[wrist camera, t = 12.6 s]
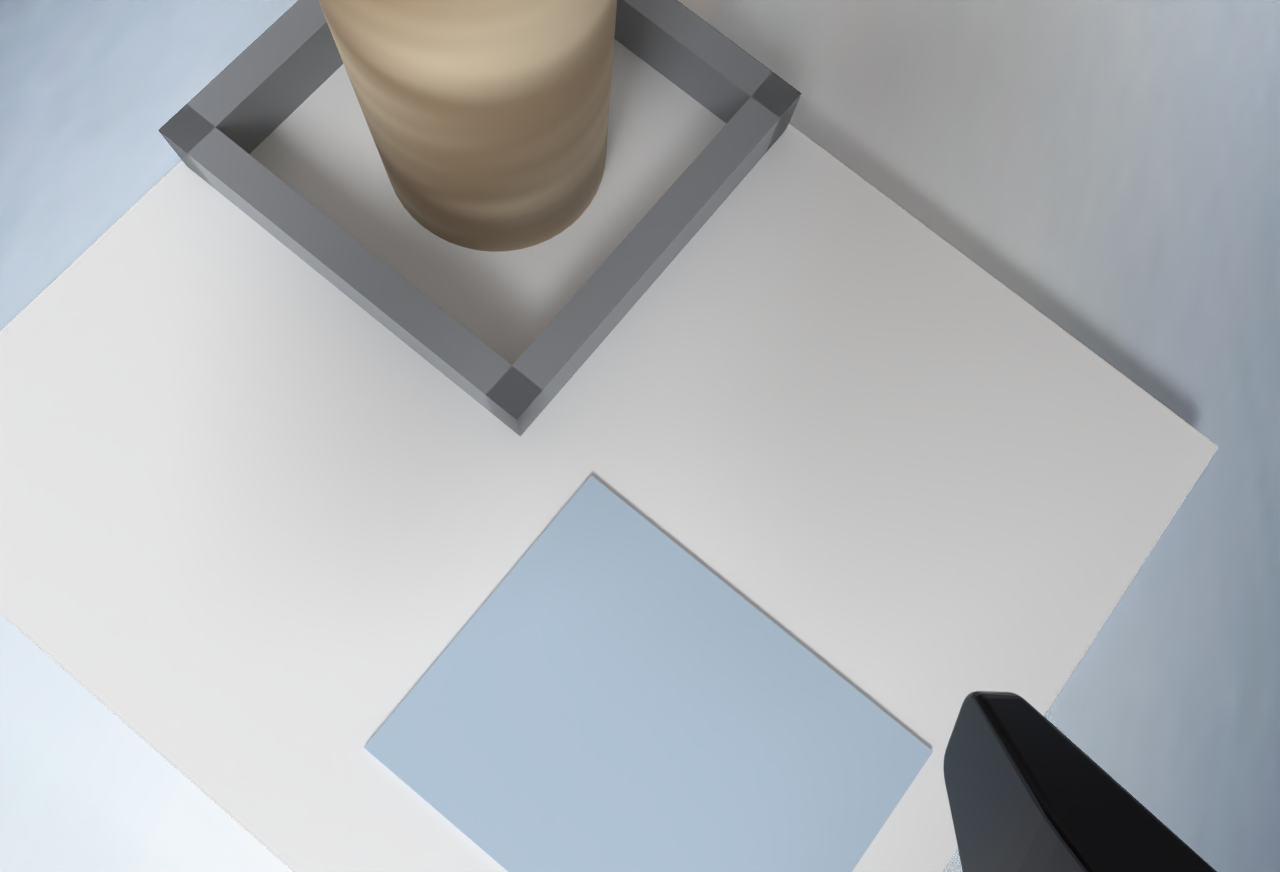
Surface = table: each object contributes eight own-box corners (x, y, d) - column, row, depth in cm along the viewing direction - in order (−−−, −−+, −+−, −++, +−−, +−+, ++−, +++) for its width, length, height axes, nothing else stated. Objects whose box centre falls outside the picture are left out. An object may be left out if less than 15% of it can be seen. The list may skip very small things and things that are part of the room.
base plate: (1190, 455, 22) (1267, 431, 20) (698, 1204, 18) (719, 1290, 16) (477, -85, 24) (466, -167, 21) (-119, 485, 20) (-216, 463, 17)
